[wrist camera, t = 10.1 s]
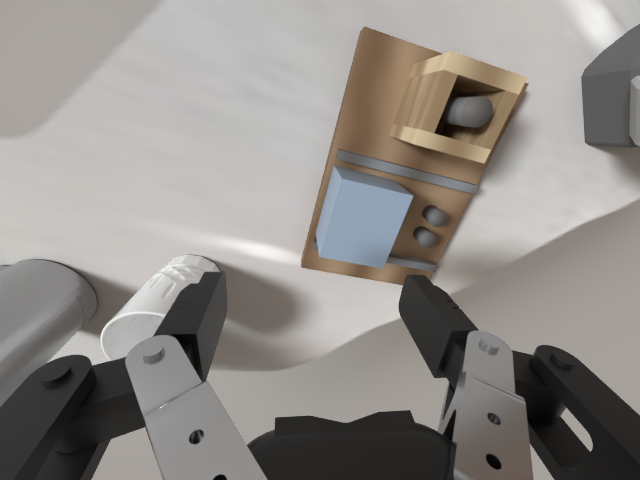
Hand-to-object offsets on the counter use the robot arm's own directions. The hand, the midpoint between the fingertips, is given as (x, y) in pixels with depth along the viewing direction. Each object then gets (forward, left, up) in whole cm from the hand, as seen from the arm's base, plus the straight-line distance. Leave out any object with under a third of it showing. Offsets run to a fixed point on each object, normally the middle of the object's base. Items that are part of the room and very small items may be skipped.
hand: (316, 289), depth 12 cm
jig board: (+9, +2, -17) cm, 19 cm away
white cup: (-10, -14, -17) cm, 24 cm away
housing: (+5, -1, -16) cm, 16 cm away
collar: (+9, +9, -16) cm, 20 cm away
